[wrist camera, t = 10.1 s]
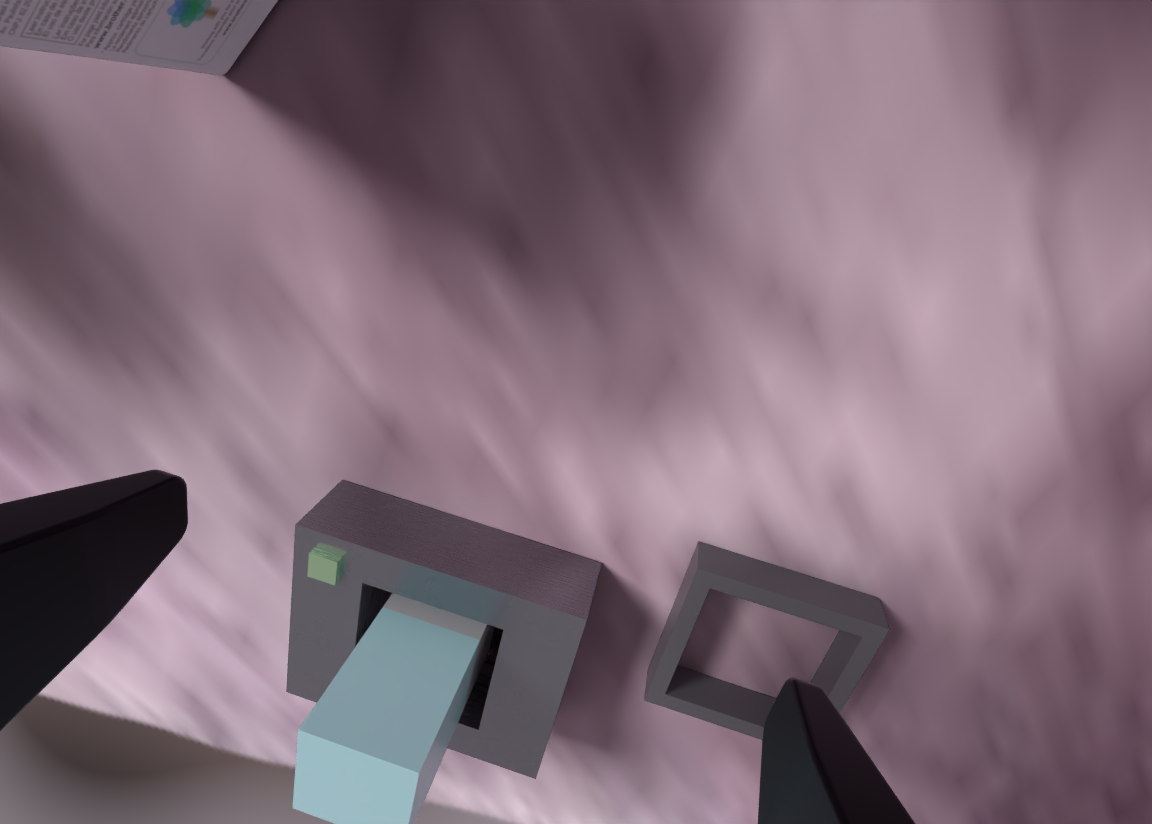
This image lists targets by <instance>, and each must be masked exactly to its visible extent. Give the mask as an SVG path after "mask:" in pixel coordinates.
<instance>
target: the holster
mask: <svg viewBox="0 0 1152 824" xmlns="http://www.w3.org/2000/svg"><path fill="white" fill-rule="evenodd" d="M709 589H713V590H716V591H720V592H723V593H726V594H729V595H732V596H735V597H738V598H741V599H745V600H748V601H751V602H754V603H757V604H760V605H763V606H767V607H770V608H773V609H776V610H779V611H782V612H785V613H788V614H792V615H795V616H798V617H801V618H804V619H807V620H810V621H814V622H817V623H820V624H823V625H826V626H829V627H832V628H835V629H839V630H840V631H839V633H838V635H837V637H836V638H835V640H834V642H833V644H832V646H831V647H830V649H829V651H828V653H827V655H826V656H825V658H824V660H823V662H822V663H821V665H820V667H819V669H818V671H817V672H816V674H815V676H814V678H813V680H812V681H811V683H813V684H816V685H818V686H820V687H821V688H822V689H823V690H824V692H825V693H826V695H827V696H828V697H829V699H830V700H831V702H832V703H833V705H834V706H835V708H836V709H837V711H838V712H839V713H840V711H841V709H842V708H843V706H844V704H845V703H846V701H847V699H848V698H849V696H850V694H851V693H852V691H853V689H854V688H855V686H856V684H857V683H858V681H859V679H860V678H861V676H862V675H863V673H864V671H865V670H866V668H867V666H868V665H869V663H870V661H871V660H872V658H873V656H874V655H875V653H876V651H877V650H878V648H879V646H880V645H881V643H882V641H883V640H884V638H885V636H886V635H887V633H888V631H889V630H890V629H889V626H888V623H887V620H886V617H885V614H884V611H883V608H882V606H881V603H880V600H879V598H877V597H874V596H871V595H868V594H864V593H861V592H858V591H855V590H852V589H849V588H845V587H842V586H839V585H836V584H833V583H829V582H826V581H823V580H820V579H817V578H814V577H810V576H807V575H804V574H801V573H798V572H794V571H791V570H788V569H785V568H782V567H778V566H775V565H772V564H769V563H766V562H763V561H759V560H756V559H753V558H750V557H747V556H743V555H740V554H737V553H734V552H731V551H728V550H724V549H721V548H718V547H715V546H712V545H708V544H705V543H702V542H698V544H697V547H696V549H695V552H694V554H693V557H692V559H691V562H690V564H689V567H688V569H687V572H686V574H685V577H684V579H683V582H682V585H681V587H680V590H679V592H678V595H677V597H676V600H675V602H674V605H673V607H672V610H671V612H670V615H669V617H668V620H667V622H666V625H665V627H664V630H663V632H662V635H661V638H660V640H659V643H658V645H657V648H656V650H655V653H654V655H653V658H652V660H651V663H650V665H649V668H648V673H647V681H646V689H645V698H644V700H645V701H648V702H651V703H654V704H657V705H660V706H663V707H666V708H669V709H672V710H675V711H678V712H681V713H684V714H687V715H690V716H693V717H696V718H699V719H702V720H705V721H708V722H711V723H714V724H717V725H720V726H722V727H725V728H728V729H731V730H734V731H737V732H740V733H743V734H746V735H749V736H752V737H755V738H758V739H761V740H763V729H764V724H765V721H766V718H767V715H768V713H769V711H770V710H771V708H772V706H773V704H774V702H775V700H776V699H775V698H772V697H769V696H766V695H763V694H760V693H757V692H754V691H751V690H748V689H745V688H742V687H739V686H736V685H733V684H730V683H727V682H724V681H721V680H718V679H715V678H712V677H709V676H706V675H703V674H700V673H697V672H694V671H691V670H688V669H685V668H681V667H678V666H677V665H678V662H679V660H680V658H681V655H682V653H683V650H684V648H685V646H686V643H687V641H688V639H689V636H690V634H691V632H692V629H693V627H694V624H695V622H696V620H697V617H698V615H699V613H700V610H701V608H702V606H703V603H704V601H705V598H706V596H707V594H708V591H709Z"/></svg>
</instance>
